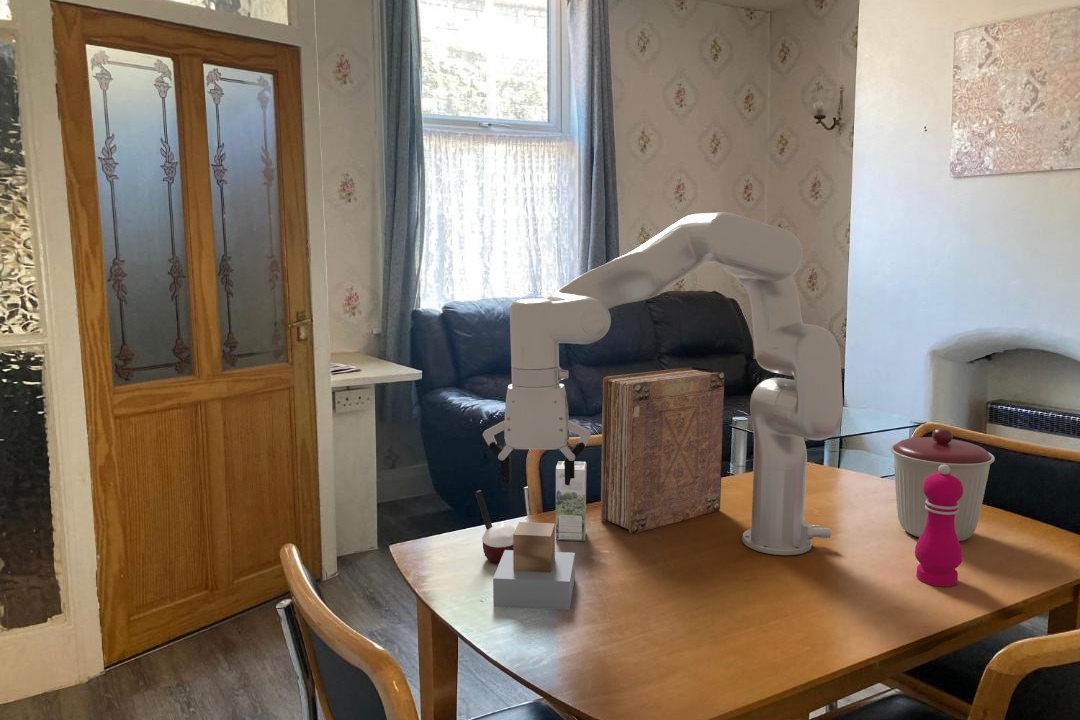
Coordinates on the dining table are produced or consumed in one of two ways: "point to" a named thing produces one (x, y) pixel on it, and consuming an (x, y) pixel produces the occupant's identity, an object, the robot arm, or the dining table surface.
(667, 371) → the book
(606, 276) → the robot arm
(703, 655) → the dining table surface
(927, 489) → the pepper mill
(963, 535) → the canister
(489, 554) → the cocoa
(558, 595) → the grey block
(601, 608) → the dining table surface
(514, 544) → the walnut cube
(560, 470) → the syrup box
